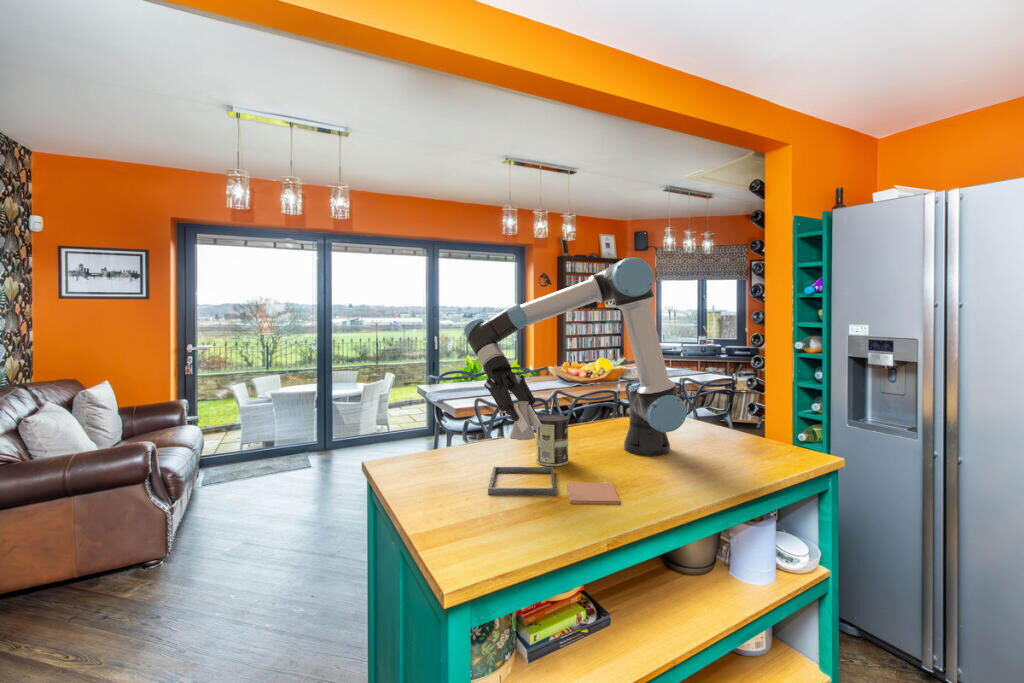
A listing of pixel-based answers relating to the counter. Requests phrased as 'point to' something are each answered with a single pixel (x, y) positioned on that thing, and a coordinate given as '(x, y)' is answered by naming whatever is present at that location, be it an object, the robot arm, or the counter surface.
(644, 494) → the counter surface
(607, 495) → the terracotta tile
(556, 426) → the coffee can
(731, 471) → the counter surface
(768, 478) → the counter surface
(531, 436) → the flask
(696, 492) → the counter surface
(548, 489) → the steel frame
